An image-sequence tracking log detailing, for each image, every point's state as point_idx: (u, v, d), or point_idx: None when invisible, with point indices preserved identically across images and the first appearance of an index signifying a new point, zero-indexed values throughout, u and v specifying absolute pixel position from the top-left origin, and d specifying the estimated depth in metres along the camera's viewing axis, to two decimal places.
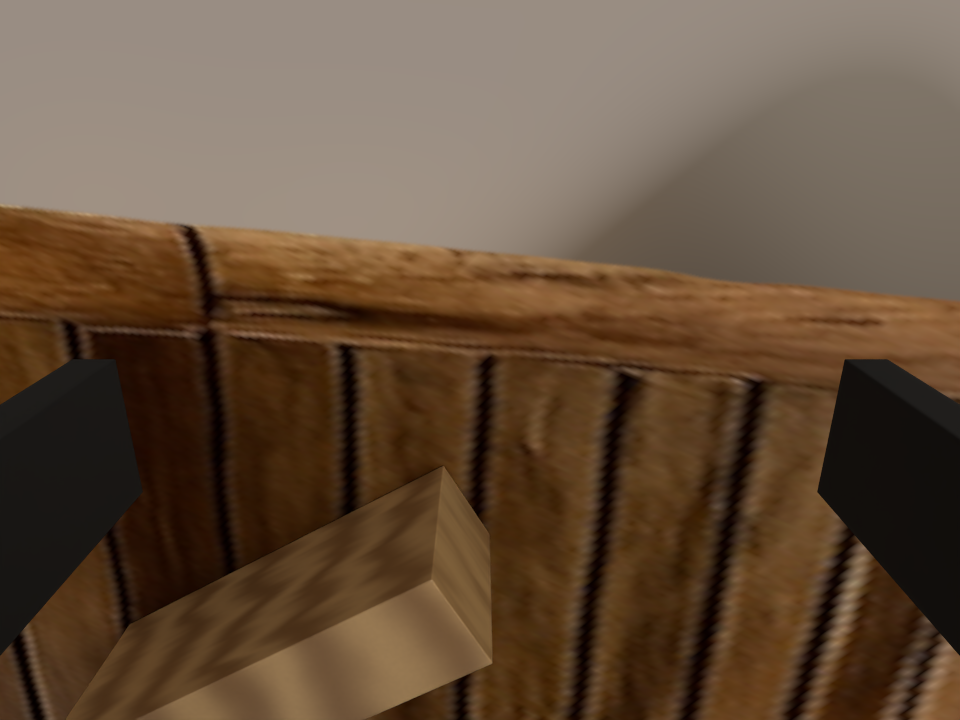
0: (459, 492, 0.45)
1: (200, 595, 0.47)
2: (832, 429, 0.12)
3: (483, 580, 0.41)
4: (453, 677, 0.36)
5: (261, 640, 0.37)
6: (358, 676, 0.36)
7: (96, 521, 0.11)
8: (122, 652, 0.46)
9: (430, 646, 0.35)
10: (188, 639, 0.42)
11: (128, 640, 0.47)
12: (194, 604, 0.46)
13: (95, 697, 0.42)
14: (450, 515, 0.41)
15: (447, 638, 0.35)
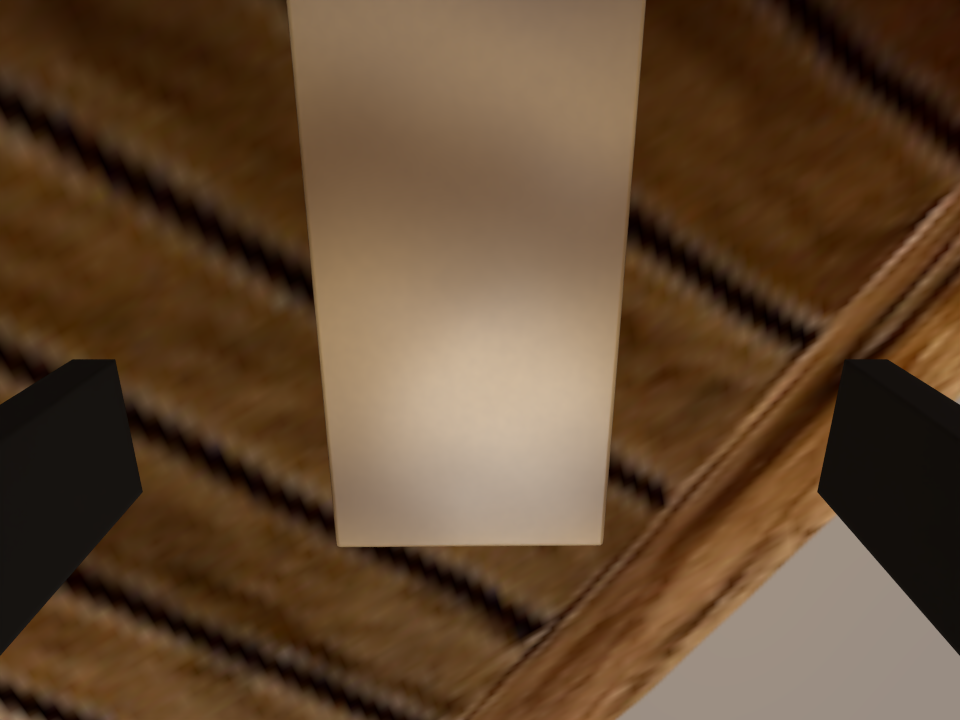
0: None
1: None
2: (832, 429, 0.12)
3: None
4: (338, 462, 0.15)
5: None
6: (451, 266, 0.13)
7: (97, 520, 0.11)
8: None
9: (446, 462, 0.15)
10: None
11: None
12: None
13: None
14: None
15: (448, 503, 0.15)
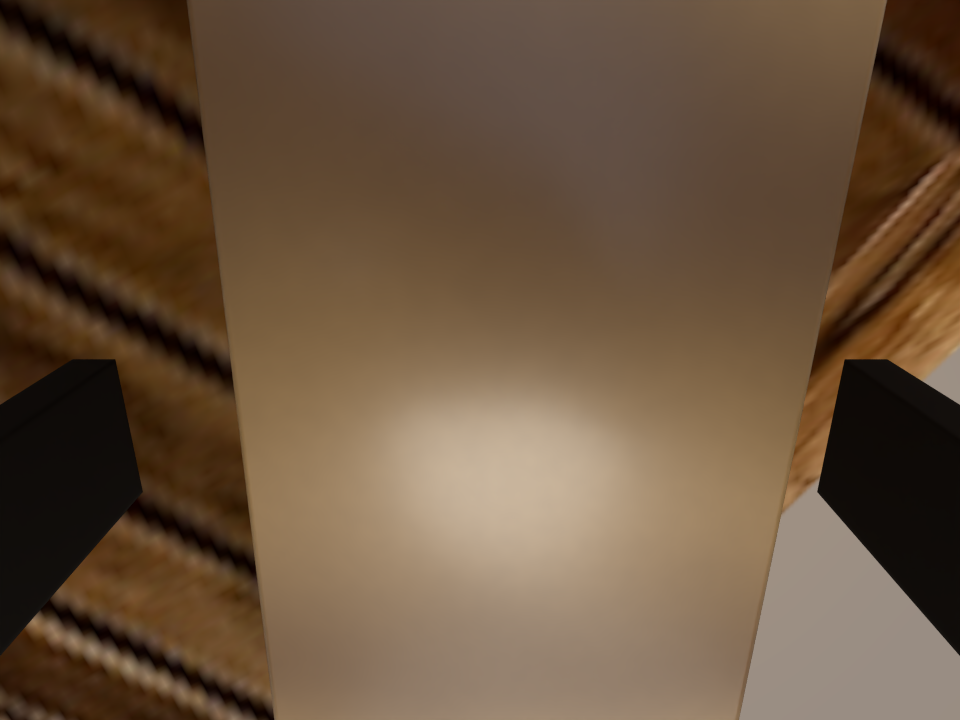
0: None
1: None
2: (833, 429, 0.12)
3: None
4: (276, 604, 0.08)
5: None
6: (489, 258, 0.07)
7: (96, 521, 0.11)
8: None
9: (468, 610, 0.08)
10: None
11: None
12: None
13: None
14: None
15: (470, 675, 0.09)
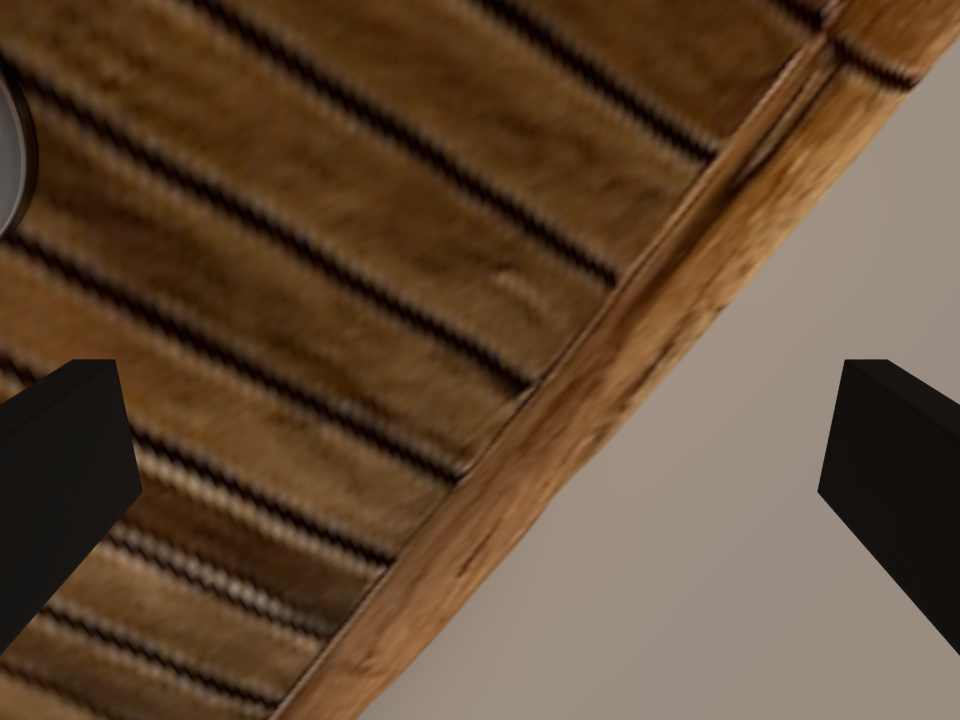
0: None
1: None
2: (832, 429, 0.12)
3: None
4: None
5: None
6: None
7: (96, 520, 0.11)
8: None
9: None
10: None
11: None
12: None
13: None
14: None
15: None
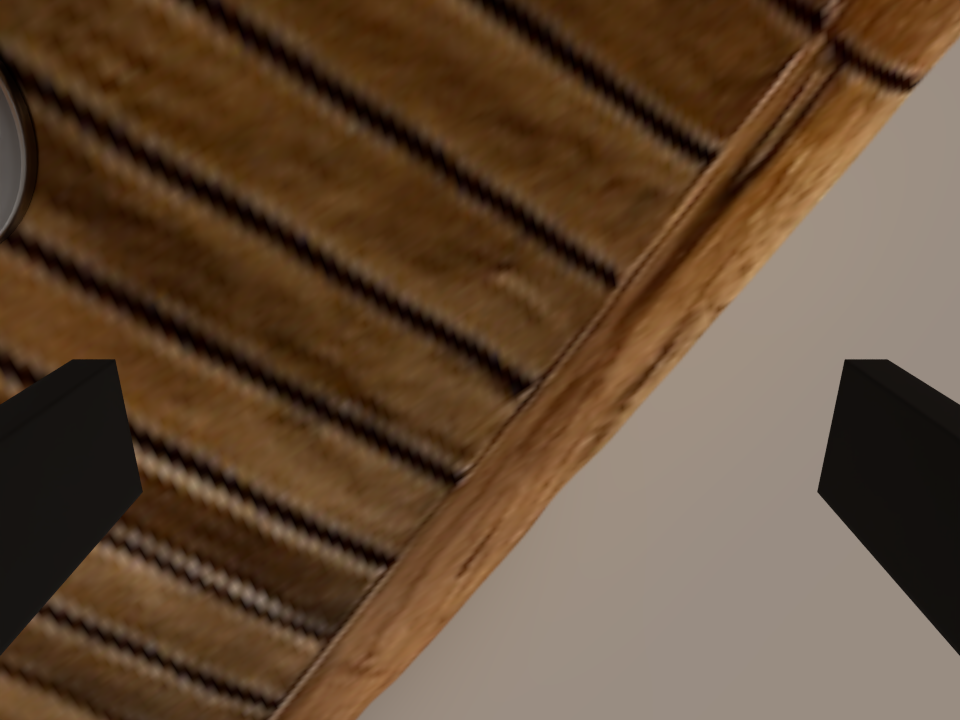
0: None
1: None
2: (832, 429, 0.12)
3: None
4: None
5: None
6: None
7: (96, 520, 0.11)
8: None
9: None
10: None
11: None
12: None
13: None
14: None
15: None
